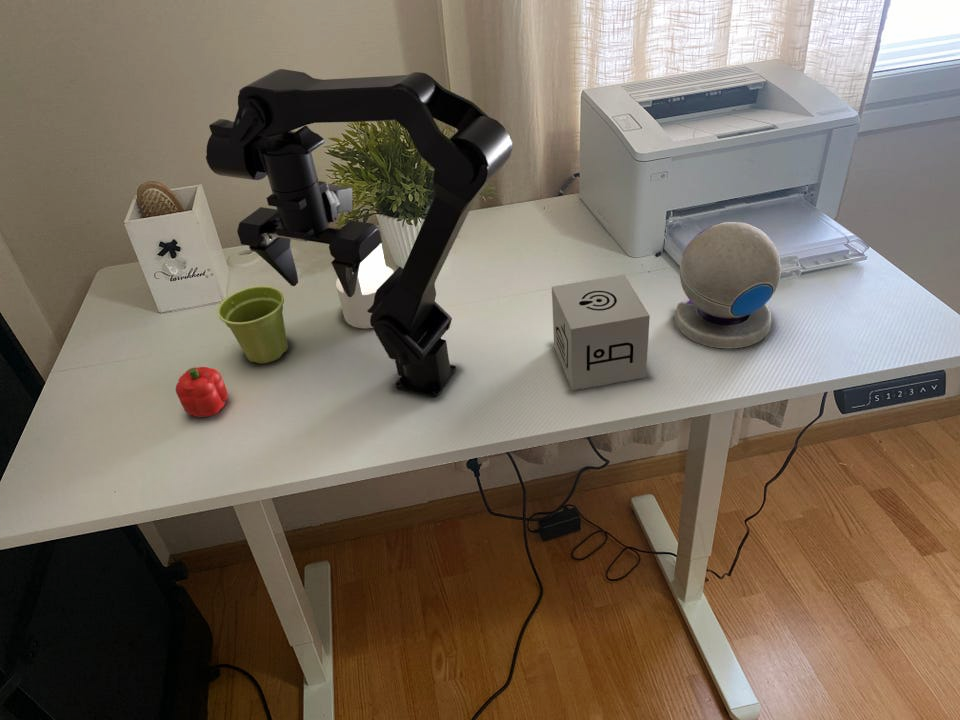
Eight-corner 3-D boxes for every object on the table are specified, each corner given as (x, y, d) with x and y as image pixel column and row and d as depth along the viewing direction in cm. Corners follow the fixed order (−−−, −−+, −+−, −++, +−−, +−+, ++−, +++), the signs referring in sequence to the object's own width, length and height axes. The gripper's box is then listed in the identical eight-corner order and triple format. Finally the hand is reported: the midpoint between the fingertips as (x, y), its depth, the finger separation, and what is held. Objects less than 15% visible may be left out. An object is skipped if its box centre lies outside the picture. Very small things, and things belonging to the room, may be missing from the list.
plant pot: (240, 379, 105) (222, 330, 99) (230, 345, 112) (212, 297, 106) (304, 358, 107) (289, 310, 102) (291, 326, 114) (276, 279, 109)
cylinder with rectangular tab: (386, 331, 111) (372, 263, 103) (334, 324, 113) (316, 257, 106) (409, 298, 117) (397, 231, 110) (359, 292, 120) (344, 227, 113)
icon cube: (572, 390, 96) (570, 329, 90) (554, 345, 104) (551, 286, 98) (645, 377, 97) (649, 315, 91) (622, 333, 105) (624, 274, 99)
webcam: (736, 288, 111) (750, 197, 102) (790, 334, 101) (810, 238, 92) (659, 309, 109) (666, 218, 99) (706, 359, 99) (718, 263, 90)
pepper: (237, 409, 100) (222, 371, 96) (194, 429, 97) (176, 391, 93) (222, 387, 104) (207, 350, 100) (181, 406, 101) (163, 368, 97)
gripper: (393, 162, 91) (411, 269, 101) (273, 149, 98) (301, 250, 108) (344, 202, 84) (369, 314, 93) (218, 185, 91) (253, 291, 100)
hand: (322, 289), depth 99 cm, fingers open, 9 cm apart
